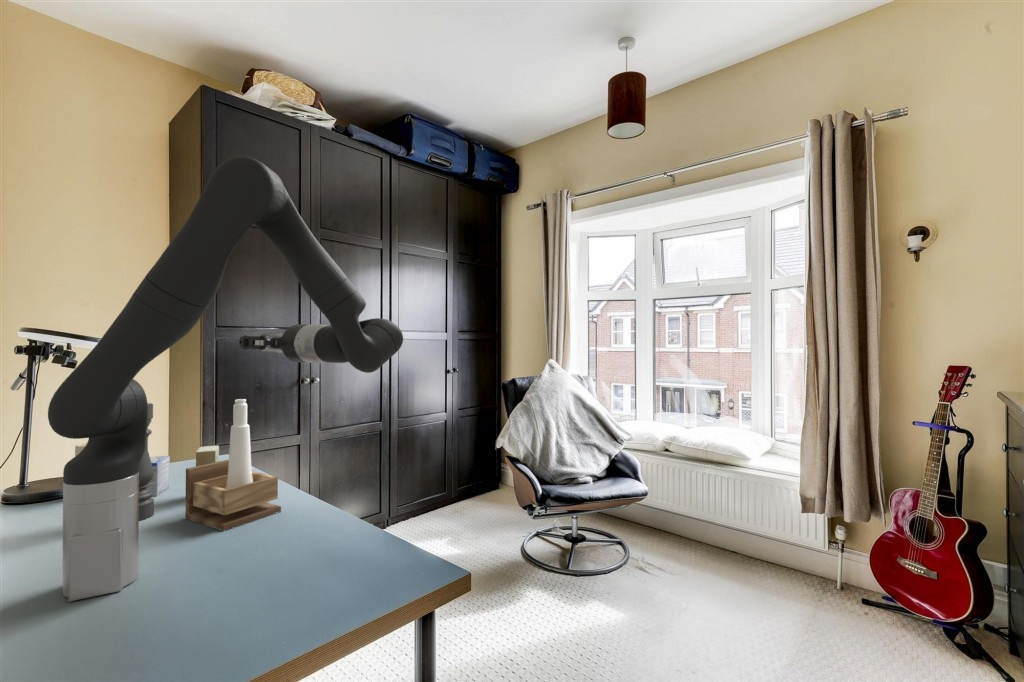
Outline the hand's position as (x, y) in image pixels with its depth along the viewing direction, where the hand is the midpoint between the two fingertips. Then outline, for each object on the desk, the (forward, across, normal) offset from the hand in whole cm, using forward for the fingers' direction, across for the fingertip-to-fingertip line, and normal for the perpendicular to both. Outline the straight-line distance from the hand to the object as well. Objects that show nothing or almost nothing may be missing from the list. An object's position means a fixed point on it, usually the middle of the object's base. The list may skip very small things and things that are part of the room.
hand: (261, 342), depth 100 cm
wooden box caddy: (+10, -2, +39) cm, 41 cm away
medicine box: (+46, -1, +40) cm, 60 cm away
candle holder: (+29, +10, +40) cm, 50 cm away
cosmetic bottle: (+10, -2, +35) cm, 37 cm away
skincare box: (+30, -6, +40) cm, 50 cm away
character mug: (+57, +7, +40) cm, 70 cm away
